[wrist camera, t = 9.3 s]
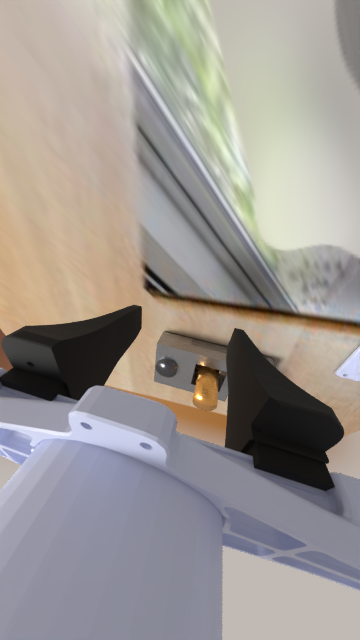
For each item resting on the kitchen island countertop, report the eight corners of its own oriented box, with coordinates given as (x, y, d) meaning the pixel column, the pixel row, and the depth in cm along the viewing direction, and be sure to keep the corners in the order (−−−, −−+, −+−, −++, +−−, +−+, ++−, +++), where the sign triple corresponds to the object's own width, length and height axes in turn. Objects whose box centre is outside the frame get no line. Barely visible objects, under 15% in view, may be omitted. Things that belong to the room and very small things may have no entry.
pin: (222, 359, 25) (220, 400, 20) (216, 371, 27) (213, 413, 21) (202, 353, 26) (195, 392, 20) (198, 366, 27) (190, 405, 22)
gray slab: (272, 358, 23) (279, 377, 20) (251, 392, 28) (255, 413, 25) (163, 331, 25) (155, 345, 22) (160, 367, 30) (152, 383, 27)
